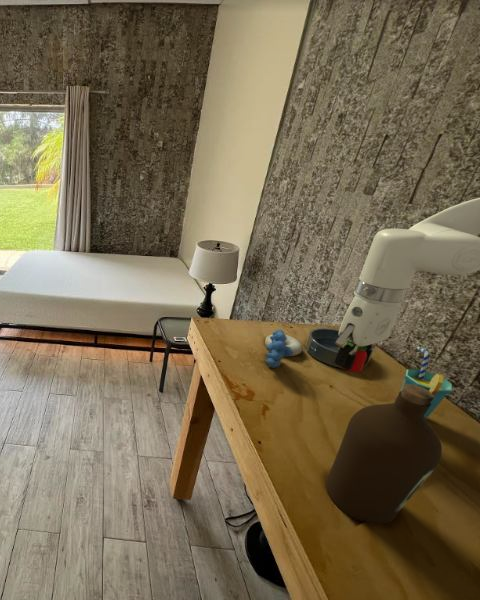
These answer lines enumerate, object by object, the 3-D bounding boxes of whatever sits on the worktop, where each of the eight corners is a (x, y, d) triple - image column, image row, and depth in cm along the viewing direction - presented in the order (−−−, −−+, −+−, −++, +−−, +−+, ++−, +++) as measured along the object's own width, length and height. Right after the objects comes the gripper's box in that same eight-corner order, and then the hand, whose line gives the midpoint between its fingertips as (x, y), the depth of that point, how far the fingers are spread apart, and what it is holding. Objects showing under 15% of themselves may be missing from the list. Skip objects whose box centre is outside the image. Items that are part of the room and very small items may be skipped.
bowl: (327, 337, 105) (331, 324, 103) (379, 363, 92) (386, 349, 90) (293, 347, 100) (297, 333, 98) (343, 375, 87) (349, 360, 85)
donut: (291, 341, 103) (259, 339, 105) (294, 332, 102) (261, 330, 103) (306, 360, 94) (271, 357, 96) (310, 350, 93) (274, 347, 94)
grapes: (289, 382, 85) (301, 345, 80) (260, 375, 88) (271, 338, 83) (286, 359, 95) (298, 324, 89) (261, 353, 97) (270, 319, 92)
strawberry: (345, 358, 75) (353, 338, 73) (366, 369, 71) (375, 347, 69) (332, 362, 74) (340, 342, 71) (352, 373, 70) (361, 352, 68)
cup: (375, 389, 82) (399, 340, 76) (414, 398, 79) (442, 348, 73) (397, 428, 71) (427, 375, 64) (444, 440, 68) (480, 385, 61)
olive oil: (317, 503, 56) (370, 394, 46) (324, 462, 63) (372, 360, 53) (398, 546, 50) (482, 432, 39) (396, 495, 57) (466, 387, 46)
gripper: (372, 305, 59) (341, 383, 67) (428, 290, 64) (393, 364, 72) (331, 290, 65) (307, 363, 73) (385, 278, 70) (357, 347, 78)
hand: (350, 363), depth 72 cm, fingers closed on strawberry, 4 cm apart
